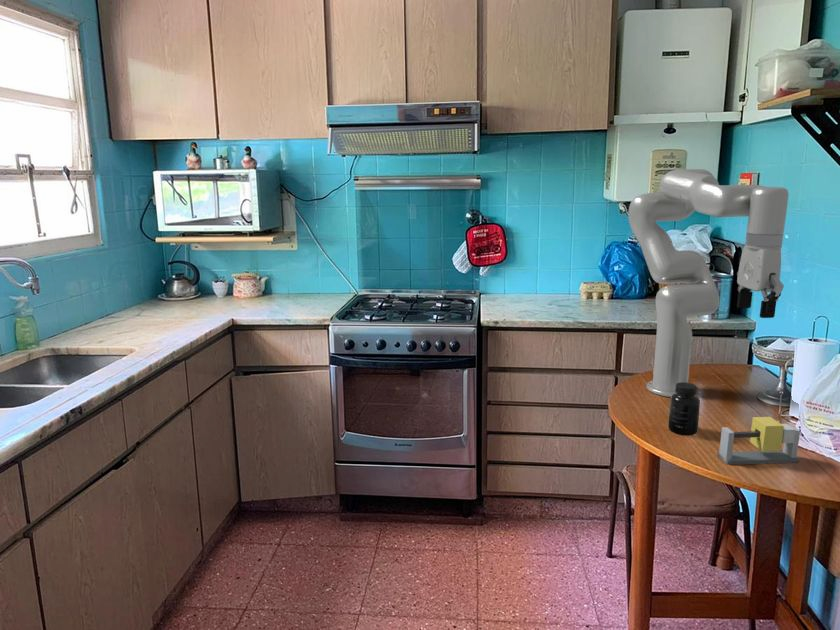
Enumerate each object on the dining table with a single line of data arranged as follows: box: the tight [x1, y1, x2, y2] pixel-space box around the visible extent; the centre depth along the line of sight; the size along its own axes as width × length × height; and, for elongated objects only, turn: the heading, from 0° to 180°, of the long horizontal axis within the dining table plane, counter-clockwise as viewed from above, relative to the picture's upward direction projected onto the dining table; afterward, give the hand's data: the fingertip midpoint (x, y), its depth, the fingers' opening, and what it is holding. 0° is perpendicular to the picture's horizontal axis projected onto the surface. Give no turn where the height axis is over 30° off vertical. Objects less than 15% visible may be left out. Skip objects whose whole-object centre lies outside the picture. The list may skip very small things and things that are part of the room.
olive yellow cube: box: [749, 416, 784, 452], centre depth 137 cm, size 5×4×6 cm
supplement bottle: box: [668, 382, 701, 437], centre depth 152 cm, size 7×7×12 cm
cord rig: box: [716, 423, 801, 465], centre depth 137 cm, size 4×16×8 cm, turn 92°
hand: (754, 312), depth 147 cm, fingers open, 9 cm apart
